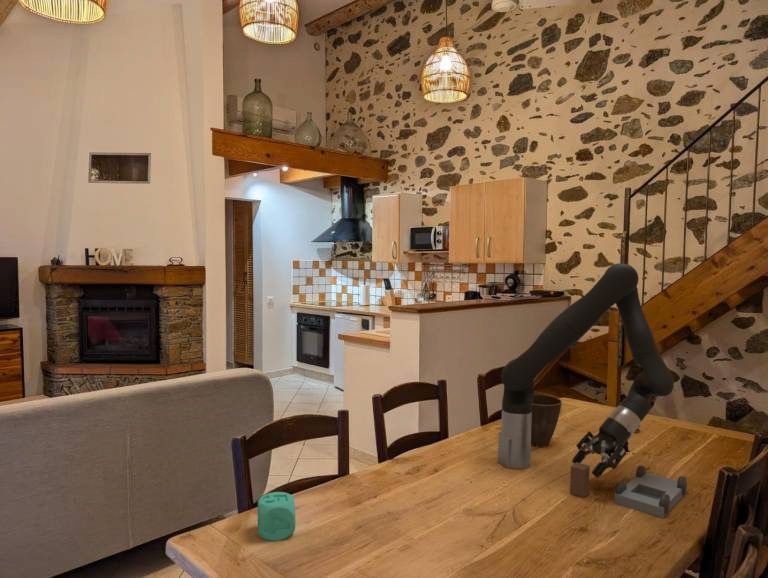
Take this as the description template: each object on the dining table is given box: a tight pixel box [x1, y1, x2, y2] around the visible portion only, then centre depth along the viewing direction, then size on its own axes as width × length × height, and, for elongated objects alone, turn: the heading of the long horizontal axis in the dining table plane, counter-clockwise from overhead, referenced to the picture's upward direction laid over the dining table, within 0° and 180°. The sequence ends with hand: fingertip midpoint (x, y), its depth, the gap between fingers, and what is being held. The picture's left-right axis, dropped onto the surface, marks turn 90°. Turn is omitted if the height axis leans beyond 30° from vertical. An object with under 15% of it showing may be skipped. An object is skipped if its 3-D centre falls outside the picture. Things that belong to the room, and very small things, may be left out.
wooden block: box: [569, 462, 591, 498], centre depth 147 cm, size 4×4×8 cm
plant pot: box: [531, 393, 563, 448], centre depth 188 cm, size 15×15×16 cm
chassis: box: [613, 465, 688, 519], centre depth 146 cm, size 22×12×5 cm, turn 136°
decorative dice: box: [257, 491, 296, 542], centre depth 123 cm, size 8×8×8 cm
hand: (584, 469), depth 147 cm, fingers open, 8 cm apart
